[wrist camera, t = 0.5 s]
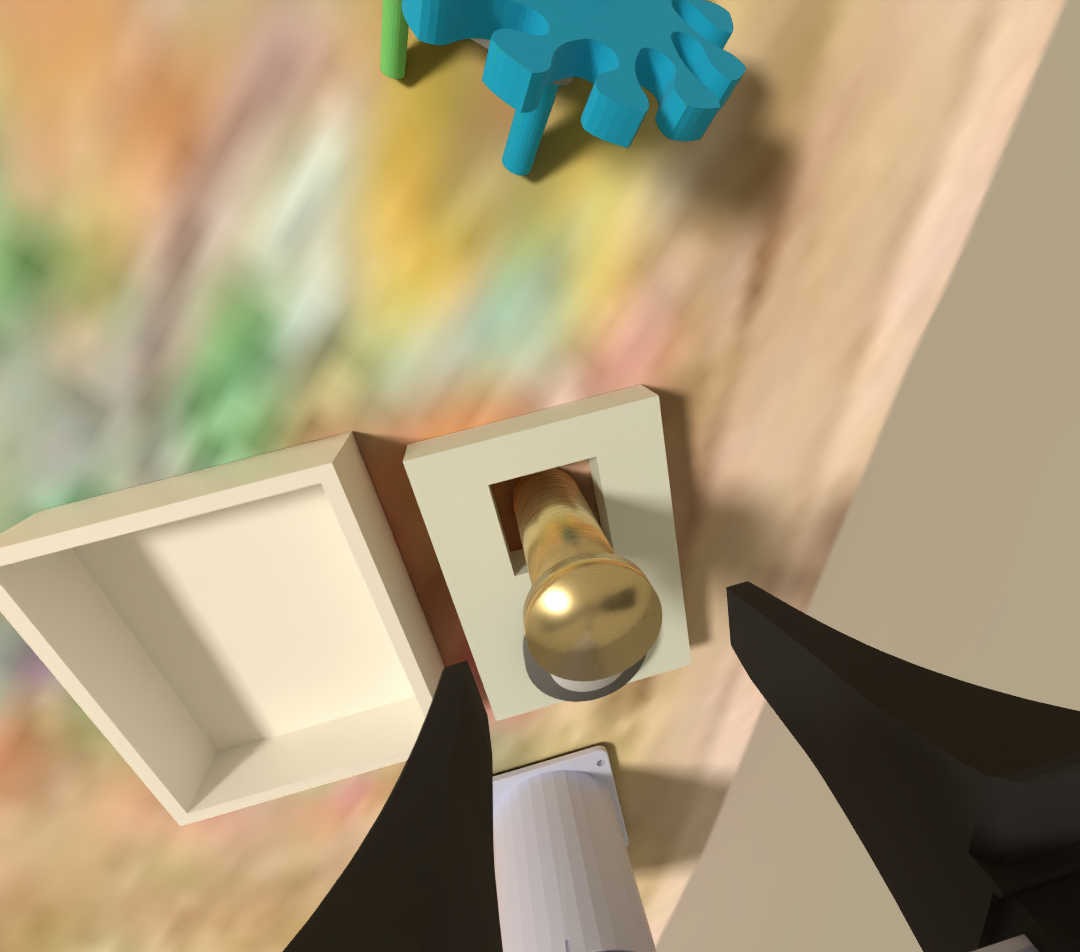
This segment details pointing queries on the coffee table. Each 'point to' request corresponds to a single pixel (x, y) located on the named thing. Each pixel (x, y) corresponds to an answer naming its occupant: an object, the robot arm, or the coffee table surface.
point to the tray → (231, 625)
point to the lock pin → (579, 585)
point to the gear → (583, 60)
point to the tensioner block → (502, 576)
